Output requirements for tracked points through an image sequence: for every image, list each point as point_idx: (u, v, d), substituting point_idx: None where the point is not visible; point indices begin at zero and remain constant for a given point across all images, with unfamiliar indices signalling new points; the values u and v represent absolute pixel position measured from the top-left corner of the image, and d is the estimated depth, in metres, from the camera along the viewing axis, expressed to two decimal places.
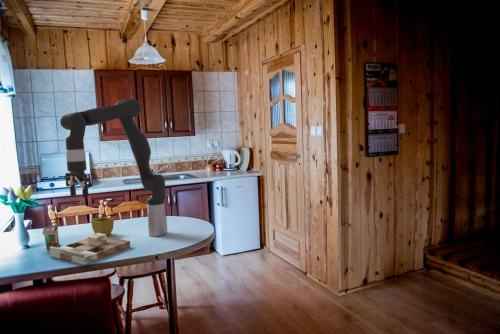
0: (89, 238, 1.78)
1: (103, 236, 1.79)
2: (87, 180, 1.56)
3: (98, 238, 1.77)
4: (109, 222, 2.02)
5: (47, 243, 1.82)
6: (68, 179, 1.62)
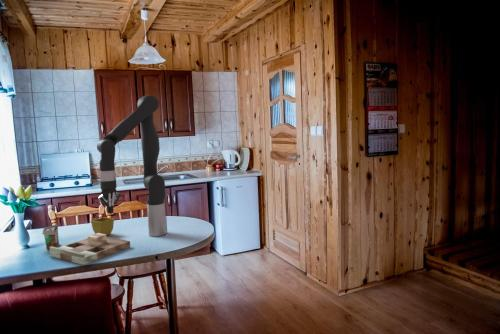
0: (89, 238, 1.78)
1: (103, 236, 1.79)
2: None
3: (98, 238, 1.77)
4: (109, 222, 2.02)
5: (47, 243, 1.82)
6: None
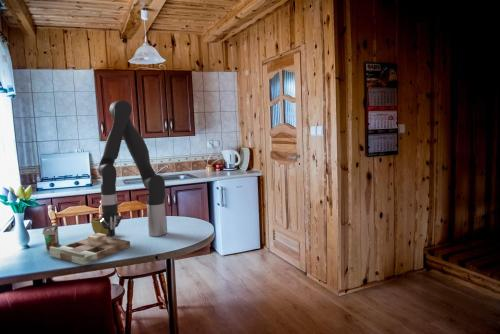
0: (89, 238, 1.78)
1: (103, 236, 1.79)
2: None
3: (98, 238, 1.77)
4: None
5: (47, 243, 1.82)
6: None
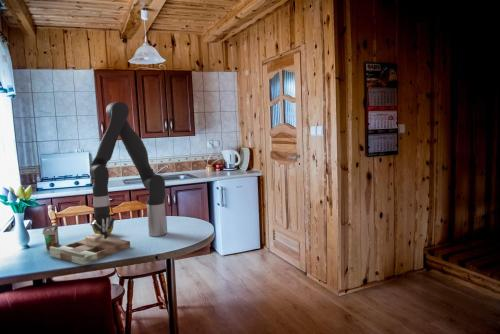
0: (87, 239, 1.77)
1: (101, 237, 1.78)
2: None
3: (96, 239, 1.76)
4: None
5: (47, 243, 1.82)
6: None
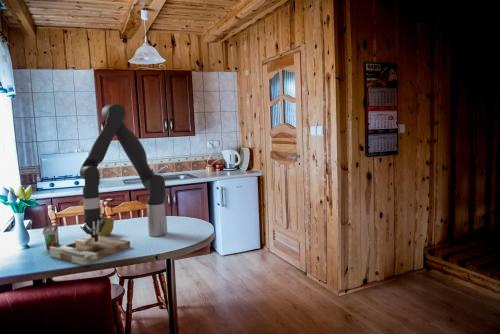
0: (77, 242, 1.72)
1: (91, 240, 1.74)
2: None
3: (86, 242, 1.71)
4: (109, 222, 2.02)
5: (47, 243, 1.82)
6: None
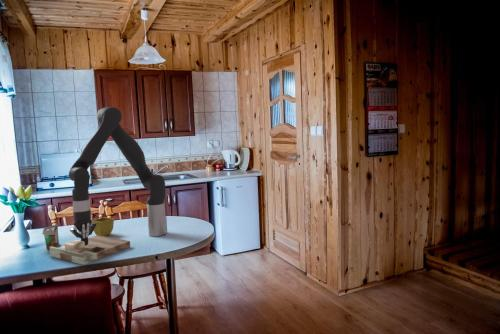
0: (66, 245, 1.68)
1: (81, 243, 1.69)
2: None
3: (75, 245, 1.66)
4: (109, 222, 2.02)
5: (47, 243, 1.82)
6: None
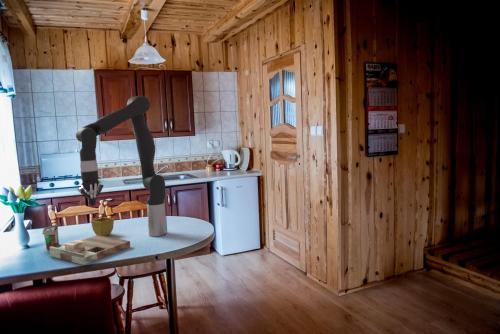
0: (66, 245, 1.68)
1: (81, 243, 1.69)
2: None
3: (75, 246, 1.66)
4: (109, 222, 2.02)
5: (47, 243, 1.82)
6: None
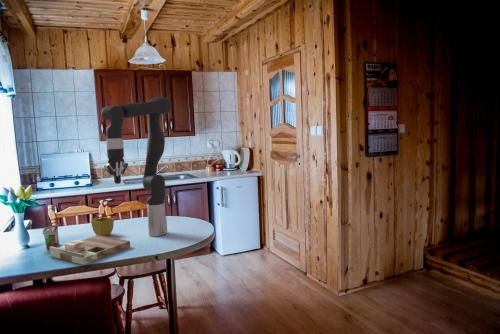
0: (66, 245, 1.68)
1: (81, 243, 1.69)
2: None
3: (75, 246, 1.66)
4: (109, 222, 2.02)
5: (47, 243, 1.82)
6: None
